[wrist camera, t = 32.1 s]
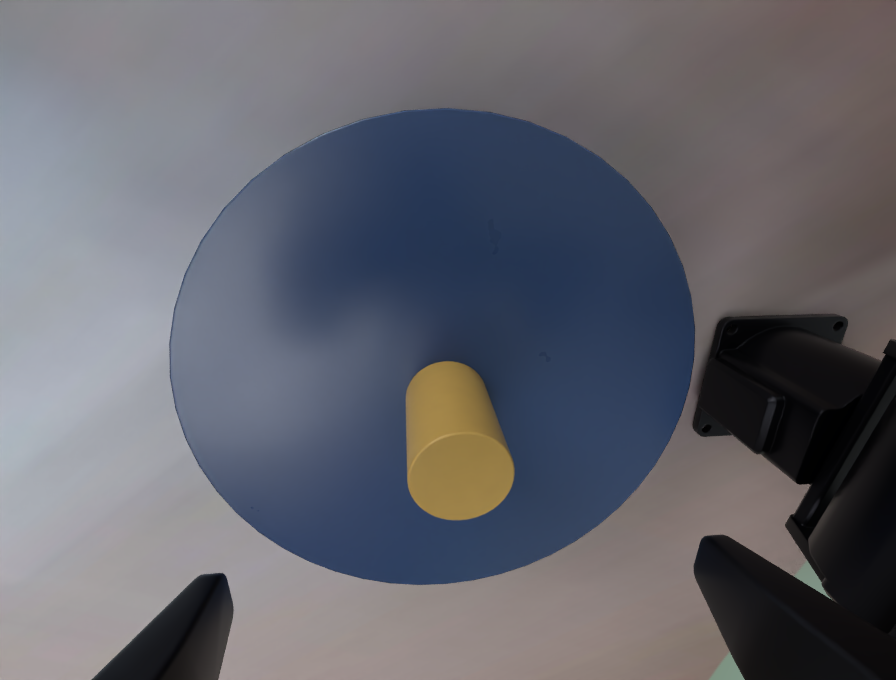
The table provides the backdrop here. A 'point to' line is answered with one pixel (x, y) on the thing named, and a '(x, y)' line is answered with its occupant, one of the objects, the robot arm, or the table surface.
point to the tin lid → (432, 346)
